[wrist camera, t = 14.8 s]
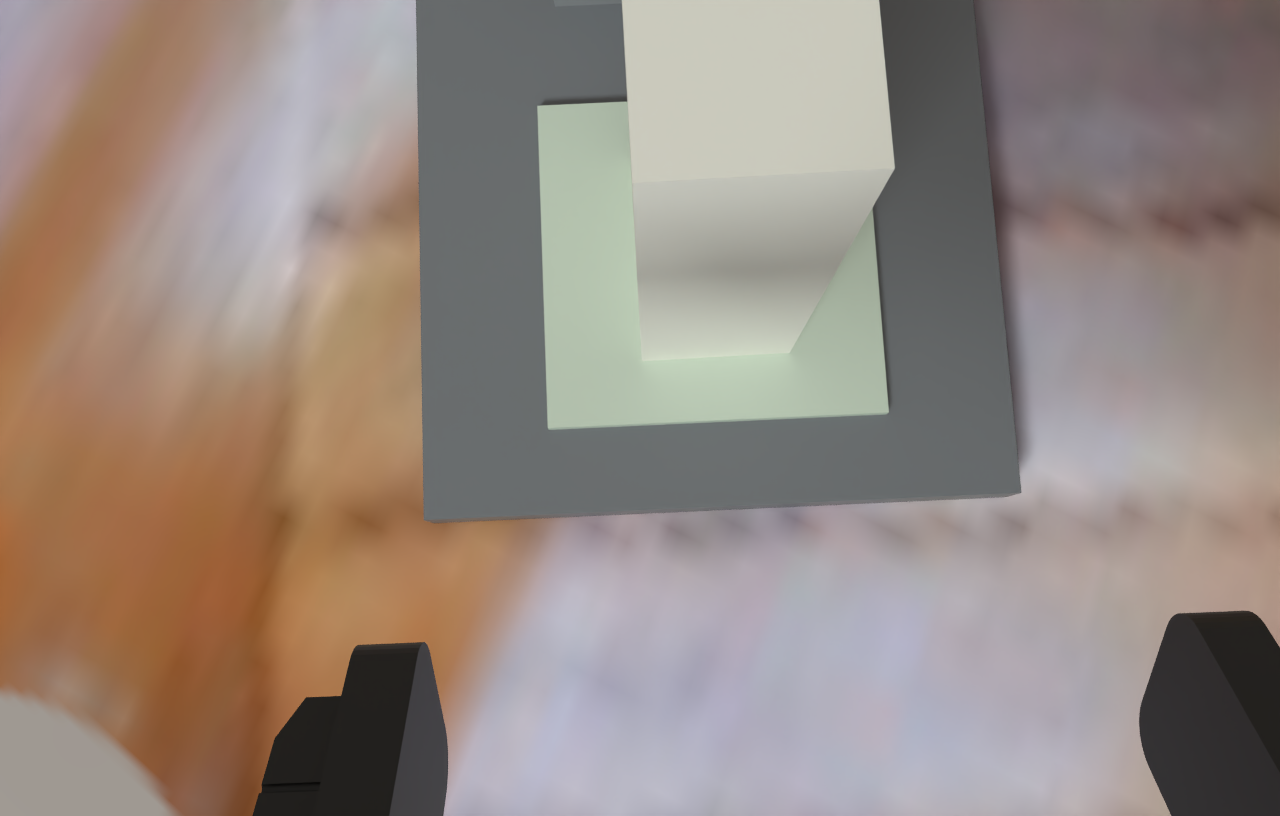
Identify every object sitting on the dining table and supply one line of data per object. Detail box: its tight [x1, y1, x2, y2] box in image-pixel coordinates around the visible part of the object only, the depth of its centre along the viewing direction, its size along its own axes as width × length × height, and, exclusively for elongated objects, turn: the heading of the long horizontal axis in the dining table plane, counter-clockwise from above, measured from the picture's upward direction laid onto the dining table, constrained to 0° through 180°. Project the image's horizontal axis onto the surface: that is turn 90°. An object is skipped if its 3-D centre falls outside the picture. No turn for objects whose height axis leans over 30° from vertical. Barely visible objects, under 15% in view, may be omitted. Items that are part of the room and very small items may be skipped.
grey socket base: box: [416, 0, 1021, 523], centre depth 28 cm, size 14×24×5 cm, turn 3°
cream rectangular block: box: [622, 0, 895, 361], centre depth 22 cm, size 4×5×12 cm
